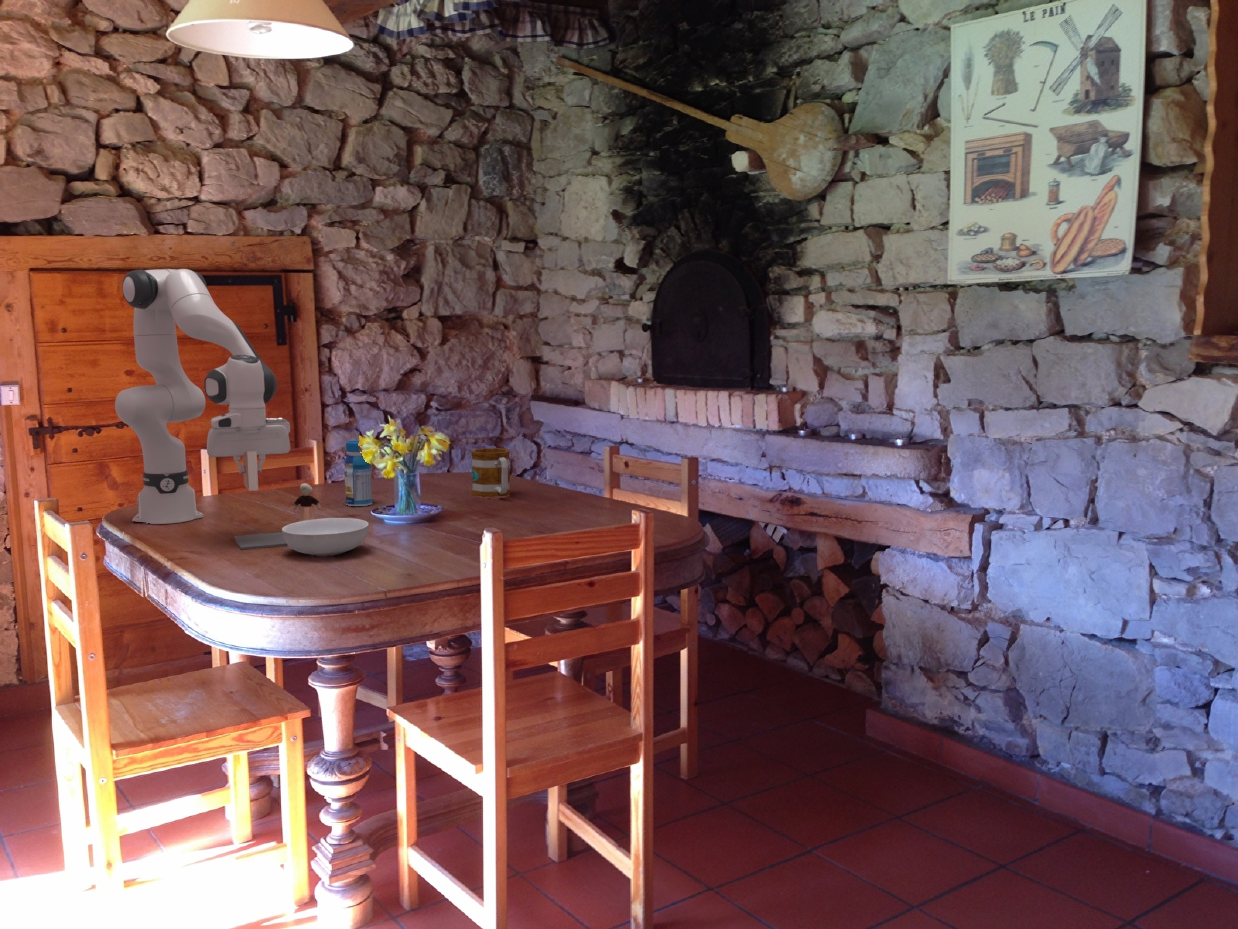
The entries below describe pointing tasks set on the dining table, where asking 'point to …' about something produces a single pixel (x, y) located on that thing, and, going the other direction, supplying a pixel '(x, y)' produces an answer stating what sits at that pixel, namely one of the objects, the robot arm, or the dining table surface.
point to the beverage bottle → (357, 477)
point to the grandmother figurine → (306, 503)
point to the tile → (250, 470)
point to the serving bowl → (325, 535)
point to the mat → (260, 540)
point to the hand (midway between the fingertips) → (250, 472)
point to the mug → (490, 472)
